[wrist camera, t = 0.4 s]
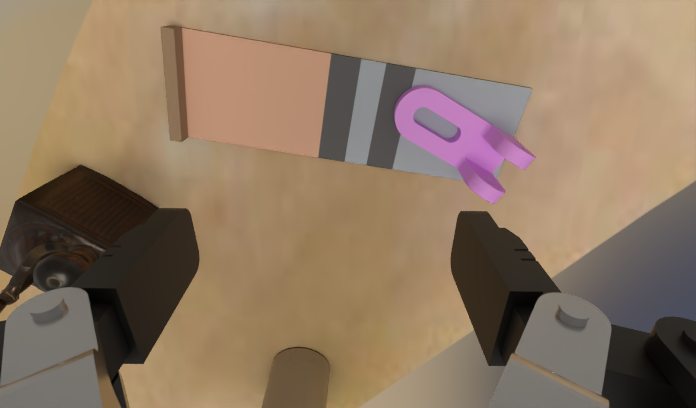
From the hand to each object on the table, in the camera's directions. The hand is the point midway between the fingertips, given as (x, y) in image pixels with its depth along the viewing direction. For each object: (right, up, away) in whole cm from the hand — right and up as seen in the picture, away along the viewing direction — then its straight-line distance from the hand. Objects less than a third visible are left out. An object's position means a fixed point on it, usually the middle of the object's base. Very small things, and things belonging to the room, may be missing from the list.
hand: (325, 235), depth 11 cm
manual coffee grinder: (-28, +1, +34) cm, 44 cm away
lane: (0, +11, +28) cm, 30 cm away
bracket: (+11, +9, +28) cm, 32 cm away
